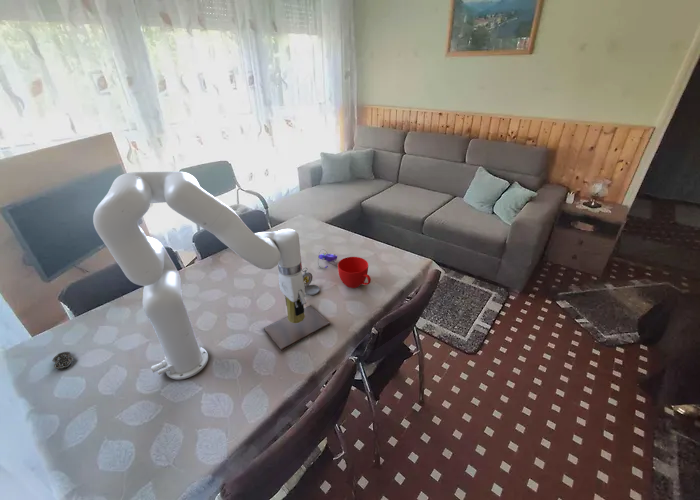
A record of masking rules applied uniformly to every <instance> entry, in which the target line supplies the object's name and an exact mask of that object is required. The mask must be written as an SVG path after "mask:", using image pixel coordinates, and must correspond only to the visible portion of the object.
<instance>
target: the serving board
mask: <svg viewBox="0 0 700 500" xmlns="http://www.w3.org/2000/svg"><path fill="white" fill-rule="evenodd" d="M304 314H305V318H304V320H303V321H301V322H299V323H291V322H290V321H289V320H288V315H287V316H285V317H283V318H281V319H279V320H277V321H275V322H273V323H271V324H268V325H266V326H265V327H263V330H264V332H265V333H266V334H267V335H268V336H269V338H270V339H271V340H272V341H273V343H274V344H275V345H276V347H277V348H278V349H279V350H280V351H281V352H282V351H285V350H286V349H288V348H290V347H292V346H293V345H296V344H297V343H299V342H301V341H303V340H305V339H306V338H308V337H311V336H312V335H314V334H316V333H318V332H319V331H321V330H323V329H325V328H327V327H329V326H330V322H329V320H327V319H326V318H325V317H324V316H323V315H322V314H321V313H320V312H318V310H316V309H315V308H314V307H313V306H312V305H310V304H309V305H308V306H306V307H304Z"/></svg>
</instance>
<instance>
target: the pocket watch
mask: <svg viewBox="0 0 700 500" xmlns="http://www.w3.org/2000/svg"><path fill="white" fill-rule="evenodd" d="M301 272H302V276H303V281H304V287H305V295H307V296H314V295H315V296H316V295H317V294H318V293H319V292H320V286H319V285H317V284H311V283H312V281H313V279H314V278H313V273H311V272H309V271H308V269H306V267H304V268H303V269H302V271H301Z"/></svg>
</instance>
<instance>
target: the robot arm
mask: <svg viewBox="0 0 700 500" xmlns="http://www.w3.org/2000/svg"><path fill="white" fill-rule="evenodd" d="M160 203H162V204H163V203H166V205H167V206H168V207H169V208H170V209H171V210H173V211H174V212H176V213H177V214H179V215H180V216H182V217H184V218H186V219H187V220H188V221H191V222H192V223H194V224H195V225H197V226H198V227H200V228H202V229H204V230H205V231H206V232H209V233H210V234H212V235H213V236H215V238H217V240H219V241H220V242H221V243H222V244H223V245H225V246H226V247H227V248H229V249H230V250H231V251H232V252H233V253H234V254H236V255H237V256H238V257H240V258H241V259H243V260H244V261H246V262H248V263H249V264H251V265H252V266H254V267H256V268H258V269H261V270H272V269H274V268H276V267H277V268H278V269H277V270H278V287H279V290H280V292H281V293H282V294H283V295H284V298H285V300H286V297H287V298H288V299H289V300H290V301H292V302H295V315H296V316H298V315H300V314H302V313H304V308H305V306H304V305H306V304H307V300H306V298H305V297H306V294H305V287H304V282H305V281H303V276H302V275H303V271H302V270H303V266H302V265H303V264H302V255H301V253H302V252H301V243H300V236H299V232H298V231H296V230H295V229H292V228H283V229H280V230H278V231H259V232H254V231H252V230H251V229H250V227H248V225H246V223H245V222H244V220H243V219H242V218H241V217H240V216H239V214H238V213H236V212H235V211H234V210H233V209H232V208H231V207H230V206H228V205H227V204H225V203H224V202H222V201H221V200H219V199H218V198H216V197H215V196H214V195H212V194H211V193H209V192H208V191H206V190H205V189H204V188H202V187H201V186H200V183H199V182H198V180H197V178H196V177H195V176H194V175H192V174H190V173H189V172H186V171H134V172H133V171H131V172H126V173H123V174H120V175H118V176H117V177H116V178H114V180H113V181H112V184H111V185H110V188H109V190H108V192H106V195H104V197H103V198H102V199H101V201H100V202H99V203H98V204H97V206H96V207H95V208H94V212H93V216H92V222H93V227H94V229H95V232H96V233H97V235H98V236H99V238H100V239H101V241H102V242H103V244H104V245H105V246H106V248H107V250H108V251H109V253H110V255H111V256H112V257H113V259H114V261H115V262H116V263H117V266H119V268H120V269H121V271H122V273H123V274H124V276H125V277H126V278H127V280H129V282H130V283H132V284H135V285H137V286H141V287H143V290H142V309H143V312H144V315H145V316H146V318H147V319H148V320H149V322H150V324H151V326H152V328H153V331H154V333H155V335H156V337H157V340H158V342H159V345H160V347H161V349H162V352H163V354H164V356H163V357H164V360H161V362H158V363H156V364H153V365H152V366H150V368H151V371H152V373H156V372H157V374H158V376H161V375H162V374H164V373H165V374H166V376H167V377H168V378H170V379H172V380H178V381H179V380H185V379H188V378H192V377H193V376H195V375H197V374H198V373H200V372H201V371H202V370H203V369H204V368H205V367H206V365H207V364H208V361H209V354H208V352H207V349H205V348H204V347H202V346H200V344H199V341H198V339H197V334H196V332H195V329H194V327H193V326H194V325H193V323H192V320H191V317H190V314H189V312H188V309H187V307H186V305H185V301H184V296H183V288H182V279H181V275H180V273H179V271H178V269H177V267H176V265H175V263H174V262H173V260H172V258H171V257H170V255H169V253H168V251H167V249H166V248H165V246H164V245H163V244H162V243H161V242H160V241H159V240H158V239H157V238H154V237H151V236H147V234H146V232H145V231H144V230H143V229H142V227H141V226H140V223H139V222H140V220H141V219H142V218H143V217H144V216H145V215H146V213H147V212H148V211H149V209H150V208H151V207H150V206H151V204H160ZM298 296H299V297H298ZM299 299H300V301H301V302H299V303H297V300H299ZM285 305H286V307H287V302H286V301H285Z"/></svg>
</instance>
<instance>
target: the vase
mask: <svg viewBox="0 0 700 500" xmlns="http://www.w3.org/2000/svg"><path fill="white" fill-rule="evenodd" d="M298 297H299V296H298ZM286 302H287V306H286V311H287V316H288V320H289V321H290V322H291V323H299V322H301V321H303V320H304V318H305V314H304V313H302V314H300V315H298V316H296V315H295V302H292V301H290V300H289V299H288V298H287V297H286V299H285V303H286ZM299 302H301V301H300V299H299V300H297V303H299Z"/></svg>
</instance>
